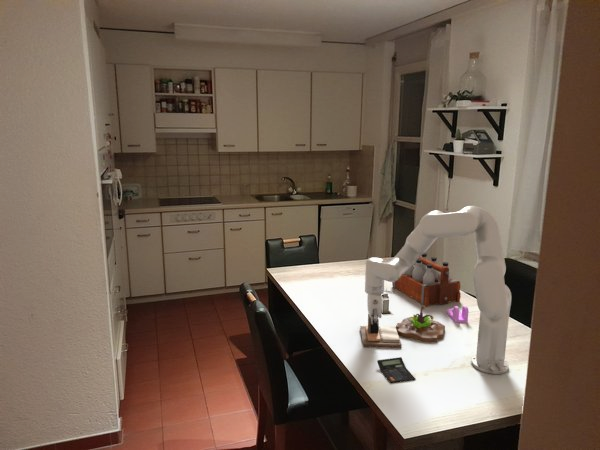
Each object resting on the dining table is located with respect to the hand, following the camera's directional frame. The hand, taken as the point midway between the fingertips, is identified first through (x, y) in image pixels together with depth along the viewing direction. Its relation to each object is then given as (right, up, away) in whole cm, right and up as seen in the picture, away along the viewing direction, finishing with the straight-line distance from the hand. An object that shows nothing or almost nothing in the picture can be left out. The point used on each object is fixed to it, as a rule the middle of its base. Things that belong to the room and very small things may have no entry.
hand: (373, 327), depth 188 cm
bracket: (+42, 0, +22) cm, 47 cm away
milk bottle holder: (+35, +6, +51) cm, 62 cm away
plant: (+22, -4, +8) cm, 23 cm away
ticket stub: (0, -3, +1) cm, 3 cm away
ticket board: (+3, -5, +1) cm, 5 cm away
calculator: (+4, -11, -26) cm, 28 cm away
